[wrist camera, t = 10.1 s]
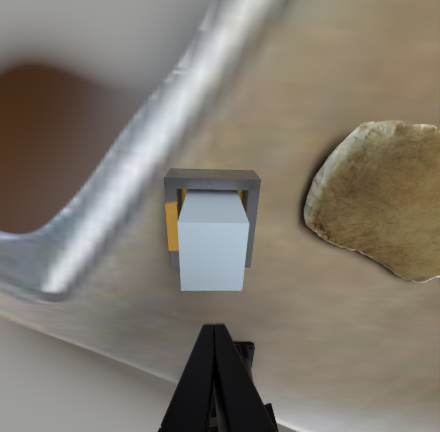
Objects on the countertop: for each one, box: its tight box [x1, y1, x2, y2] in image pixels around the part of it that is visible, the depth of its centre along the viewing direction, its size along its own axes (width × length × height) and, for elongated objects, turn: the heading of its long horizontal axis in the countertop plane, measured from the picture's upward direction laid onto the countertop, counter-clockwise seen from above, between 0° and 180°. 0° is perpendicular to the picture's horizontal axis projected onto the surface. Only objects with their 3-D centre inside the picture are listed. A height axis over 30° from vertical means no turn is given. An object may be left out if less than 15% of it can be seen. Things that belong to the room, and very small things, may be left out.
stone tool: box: [304, 121, 440, 283], centre depth 19 cm, size 12×4×25 cm
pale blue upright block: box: [178, 189, 249, 291], centre depth 16 cm, size 5×4×6 cm
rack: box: [164, 168, 261, 268], centre depth 18 cm, size 8×7×3 cm
